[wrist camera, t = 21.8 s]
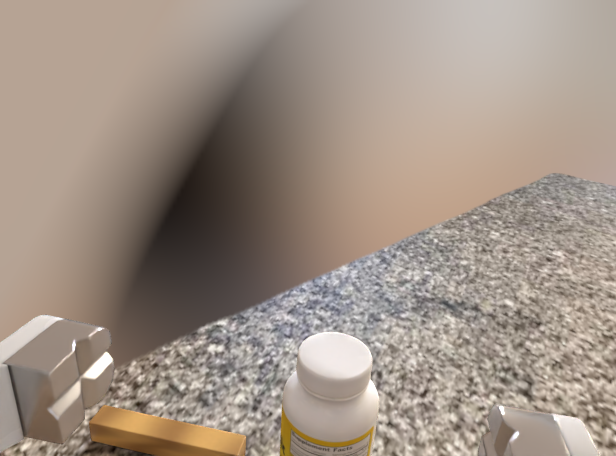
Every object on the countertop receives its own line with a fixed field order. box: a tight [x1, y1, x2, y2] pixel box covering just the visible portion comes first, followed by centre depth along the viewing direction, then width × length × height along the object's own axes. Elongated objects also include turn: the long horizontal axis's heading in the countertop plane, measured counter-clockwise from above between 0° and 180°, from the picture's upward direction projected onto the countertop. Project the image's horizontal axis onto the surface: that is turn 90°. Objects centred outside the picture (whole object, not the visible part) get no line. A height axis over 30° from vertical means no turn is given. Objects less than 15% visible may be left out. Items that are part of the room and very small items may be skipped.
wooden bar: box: [89, 405, 246, 456], centre depth 28 cm, size 10×2×2 cm, turn 79°
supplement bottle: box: [280, 332, 379, 456], centre depth 25 cm, size 5×5×10 cm
